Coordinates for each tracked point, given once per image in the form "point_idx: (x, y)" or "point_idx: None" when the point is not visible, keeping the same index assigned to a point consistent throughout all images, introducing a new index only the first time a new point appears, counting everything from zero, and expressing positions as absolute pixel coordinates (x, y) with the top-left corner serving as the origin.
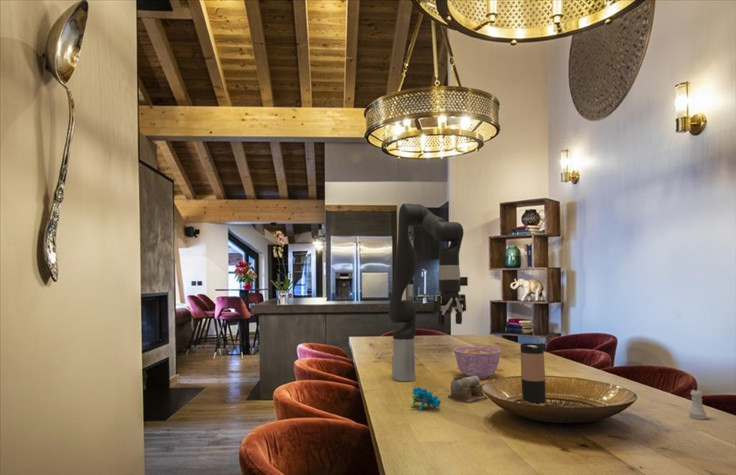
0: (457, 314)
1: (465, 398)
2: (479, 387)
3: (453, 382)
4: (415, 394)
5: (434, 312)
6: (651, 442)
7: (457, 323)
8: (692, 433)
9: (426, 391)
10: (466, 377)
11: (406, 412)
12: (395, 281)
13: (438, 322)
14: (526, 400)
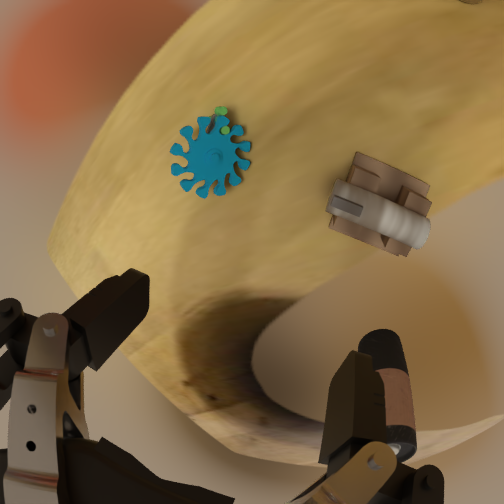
0: (338, 439)
1: (333, 218)
2: (390, 248)
3: (333, 191)
4: (219, 114)
5: (11, 308)
6: (264, 436)
7: (344, 364)
8: (316, 456)
9: (185, 171)
10: (388, 221)
11: (170, 135)
12: None
13: (103, 282)
14: (362, 346)
